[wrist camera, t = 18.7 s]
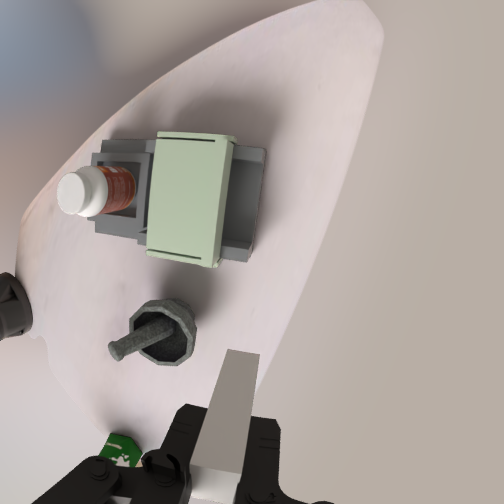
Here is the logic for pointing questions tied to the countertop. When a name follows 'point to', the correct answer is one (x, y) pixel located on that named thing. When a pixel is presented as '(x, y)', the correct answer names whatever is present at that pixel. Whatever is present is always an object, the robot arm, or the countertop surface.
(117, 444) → the milk carton
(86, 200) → the pill bottle
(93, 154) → the housing base
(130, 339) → the mortar and pestle
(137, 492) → the robot arm
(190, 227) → the cover
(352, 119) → the countertop surface
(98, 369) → the countertop surface
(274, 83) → the countertop surface
